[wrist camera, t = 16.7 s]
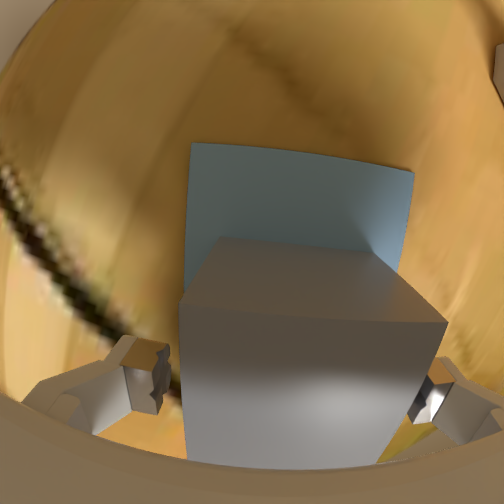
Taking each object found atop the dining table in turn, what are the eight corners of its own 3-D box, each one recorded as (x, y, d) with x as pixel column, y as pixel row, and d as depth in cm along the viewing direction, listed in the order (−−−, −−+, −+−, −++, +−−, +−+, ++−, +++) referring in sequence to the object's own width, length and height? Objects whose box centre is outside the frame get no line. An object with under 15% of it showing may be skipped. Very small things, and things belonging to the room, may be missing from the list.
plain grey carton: (328, 406, 16) (347, 499, 9) (212, 398, 16) (191, 493, 9) (372, 251, 13) (448, 322, 7) (220, 235, 13) (178, 303, 7)
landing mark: (354, 397, 16) (355, 399, 15) (186, 385, 16) (185, 387, 16) (412, 172, 12) (414, 172, 12) (192, 142, 12) (191, 142, 12)
